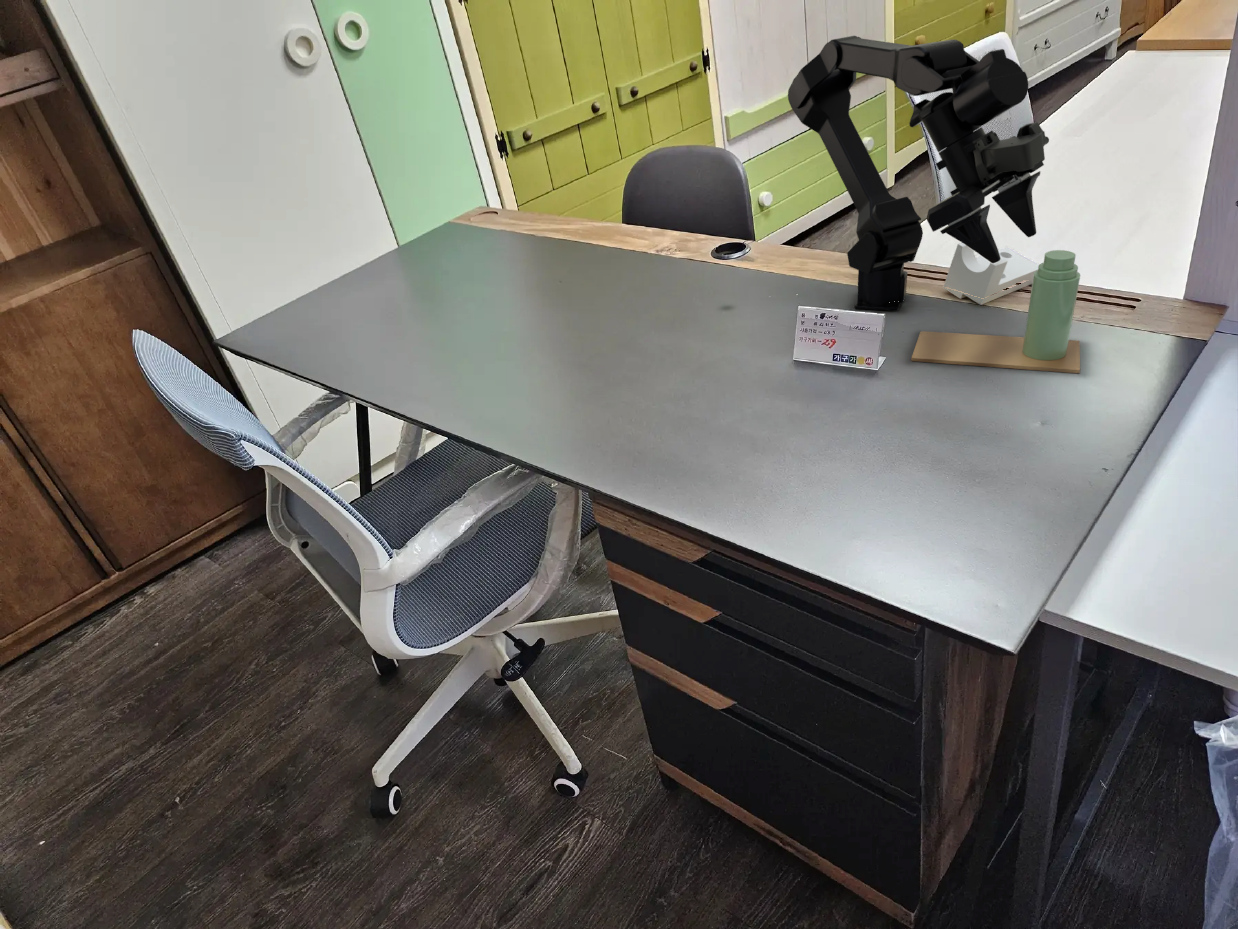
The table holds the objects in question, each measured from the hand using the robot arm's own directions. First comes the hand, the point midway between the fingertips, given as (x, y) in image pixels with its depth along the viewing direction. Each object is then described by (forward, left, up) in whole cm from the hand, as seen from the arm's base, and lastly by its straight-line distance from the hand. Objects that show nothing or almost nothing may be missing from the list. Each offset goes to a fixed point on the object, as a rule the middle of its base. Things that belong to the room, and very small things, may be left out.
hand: (1015, 248), depth 109 cm
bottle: (+5, -5, -12) cm, 14 cm away
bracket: (-2, +19, -13) cm, 23 cm away
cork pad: (-1, -5, -13) cm, 14 cm away
